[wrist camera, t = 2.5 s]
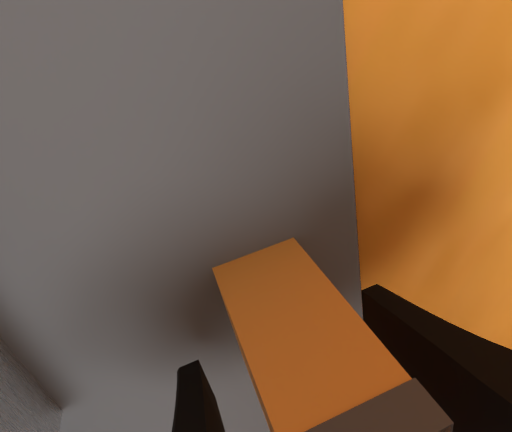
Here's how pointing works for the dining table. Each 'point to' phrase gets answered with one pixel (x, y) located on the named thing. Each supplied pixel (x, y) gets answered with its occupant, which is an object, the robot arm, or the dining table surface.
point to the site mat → (162, 189)
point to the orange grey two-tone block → (316, 351)
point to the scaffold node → (24, 398)
